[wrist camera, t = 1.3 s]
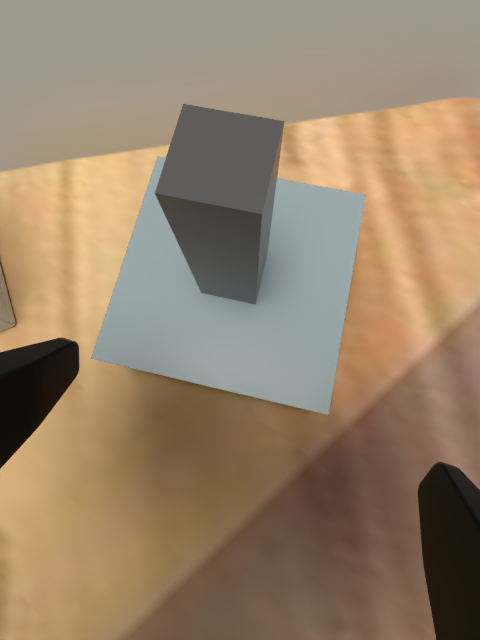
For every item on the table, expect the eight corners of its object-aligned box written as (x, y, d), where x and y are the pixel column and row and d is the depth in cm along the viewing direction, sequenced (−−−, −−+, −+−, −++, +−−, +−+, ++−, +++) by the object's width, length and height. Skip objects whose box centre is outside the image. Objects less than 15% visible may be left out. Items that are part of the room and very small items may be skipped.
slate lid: (320, 413, 18) (421, 437, 7) (105, 361, 19) (-74, 319, 8) (355, 211, 21) (466, 20, 10) (165, 175, 22) (84, -35, 11)
